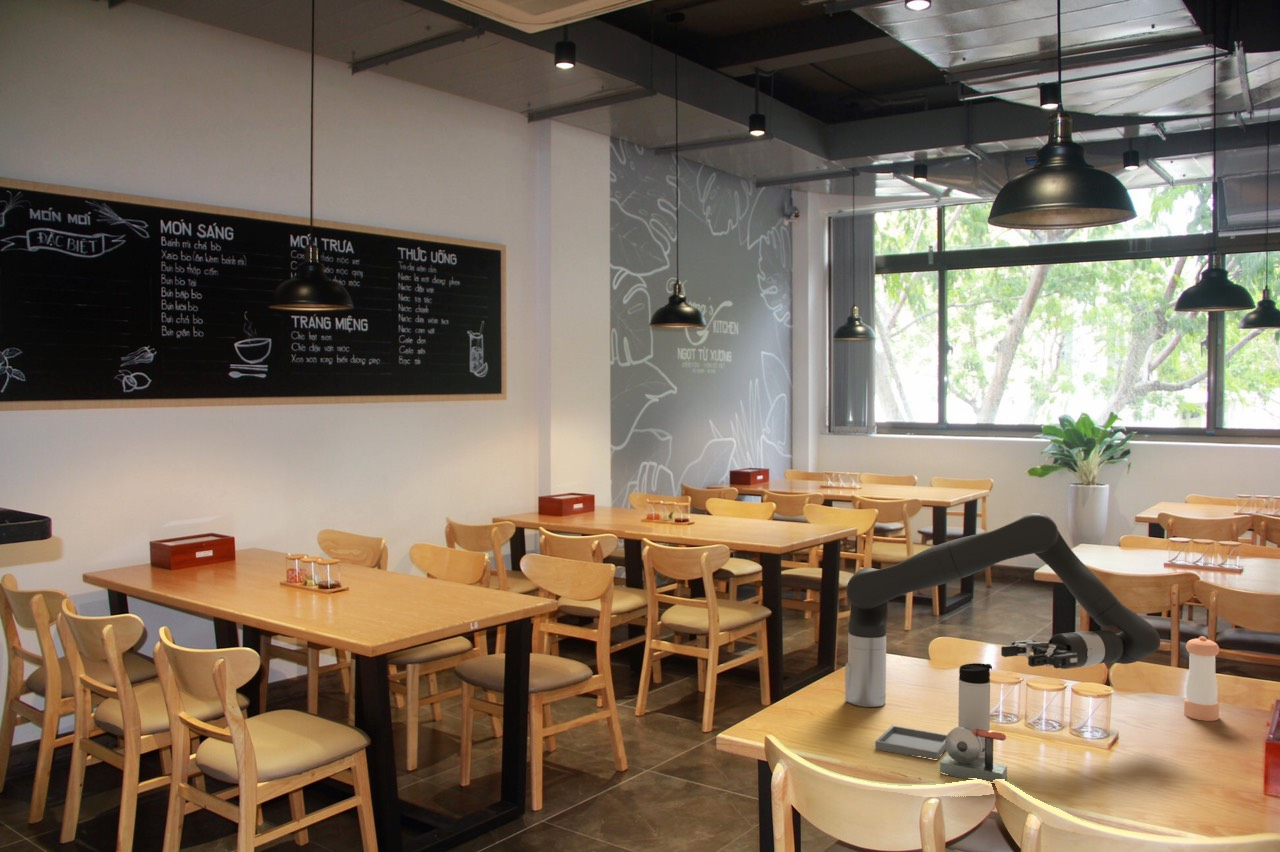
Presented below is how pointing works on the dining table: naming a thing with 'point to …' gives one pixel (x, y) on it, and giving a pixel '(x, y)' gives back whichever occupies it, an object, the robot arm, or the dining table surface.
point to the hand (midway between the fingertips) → (1015, 656)
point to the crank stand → (971, 755)
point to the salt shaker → (1202, 680)
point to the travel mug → (975, 699)
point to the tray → (912, 742)
